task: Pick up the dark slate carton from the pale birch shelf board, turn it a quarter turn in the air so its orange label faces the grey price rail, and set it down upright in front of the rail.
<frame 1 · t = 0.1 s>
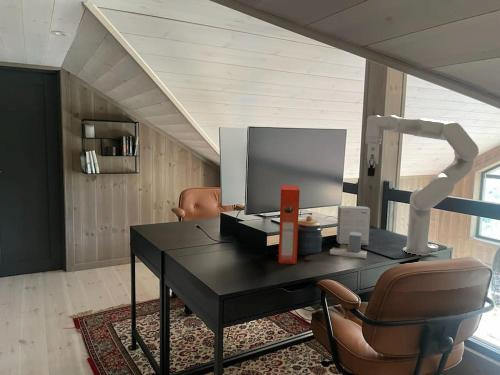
hand: (371, 175, 197), 37 cm above the table, tool pointing down, fingers open, 9 cm apart
hard drive box: (351, 245, 203), on the table
shelf board: (348, 255, 184), on the table
carton: (354, 252, 184), point 1 cm above the table, touching shelf board
canister: (307, 252, 188), on the table, touching file binder
file binder: (286, 258, 178), on the table, touching canister
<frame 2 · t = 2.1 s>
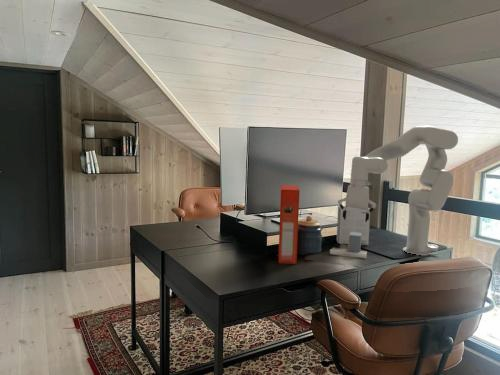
hand: (355, 220, 182), 17 cm above the table, tool pointing down, fingers open, 9 cm apart
nothing on the table moved.
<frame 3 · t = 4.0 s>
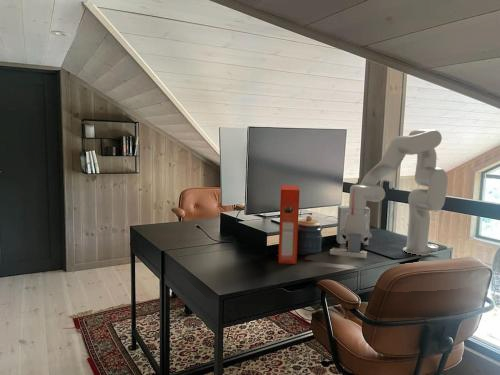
hand: (354, 249, 184), 3 cm above the table, tool pointing down, fingers closed on carton, 5 cm apart
carton: (354, 252, 184), point 2 cm above the table, touching gripper, shelf board
everything else where it was.
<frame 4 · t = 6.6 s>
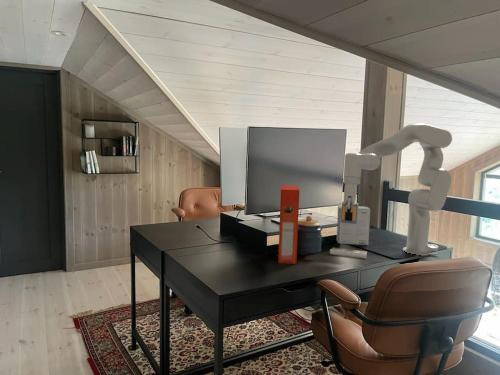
hand: (349, 219, 181), 18 cm above the table, tool pointing down, fingers closed on carton, 5 cm apart
carton: (348, 222, 182), point 16 cm above the table, touching gripper
canister: (307, 252, 188), on the table
file binder: (286, 258, 178), on the table
everything else where it was.
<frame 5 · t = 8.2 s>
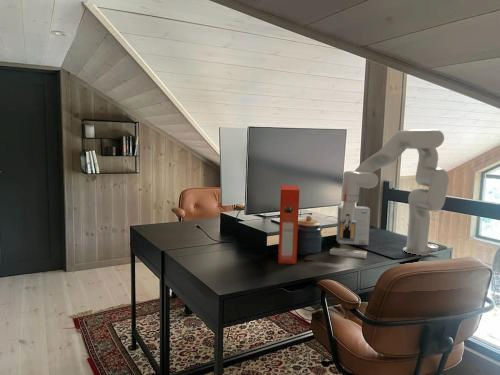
hand: (347, 236, 182), 9 cm above the table, tool pointing down, fingers closed on carton, 5 cm apart
carton: (346, 239, 182), point 8 cm above the table, touching gripper
canister: (307, 252, 188), on the table, touching file binder
file binder: (286, 258, 178), on the table, touching canister
everything else where it was.
when the fingers open (4 cm above the table, at t = 9.6 s): carton drops 1 cm, resting on shelf board.
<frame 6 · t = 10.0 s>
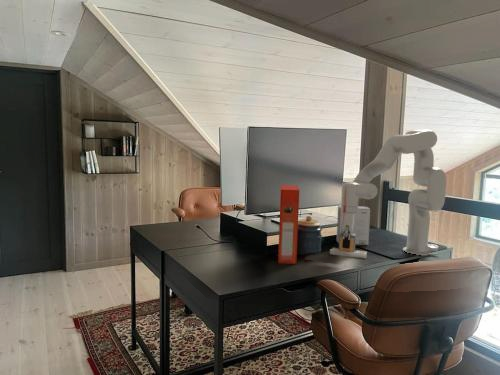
hand: (346, 245, 183), 5 cm above the table, tool pointing down, fingers open, 9 cm apart
carton: (346, 252, 183), point 1 cm above the table, touching shelf board
everything else where it was.
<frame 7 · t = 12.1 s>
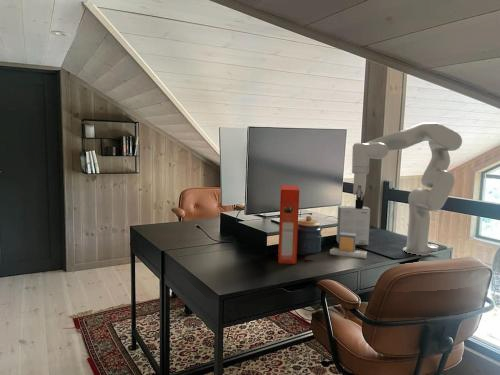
hand: (359, 206, 183), 23 cm above the table, tool pointing down, fingers open, 9 cm apart
nothing on the table moved.
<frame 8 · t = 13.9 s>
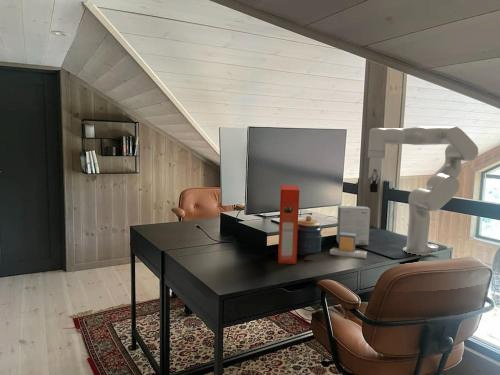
hand: (373, 191, 186), 30 cm above the table, tool pointing down, fingers open, 9 cm apart
canister: (306, 252, 188), on the table
file binder: (286, 258, 178), on the table
everything else where it was.
at the end: carton 0.5 cm from the target spot on the shelf board, point 1.5 cm above the shelf board's base; carton tilted 0°; the gripper is holding nothing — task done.
